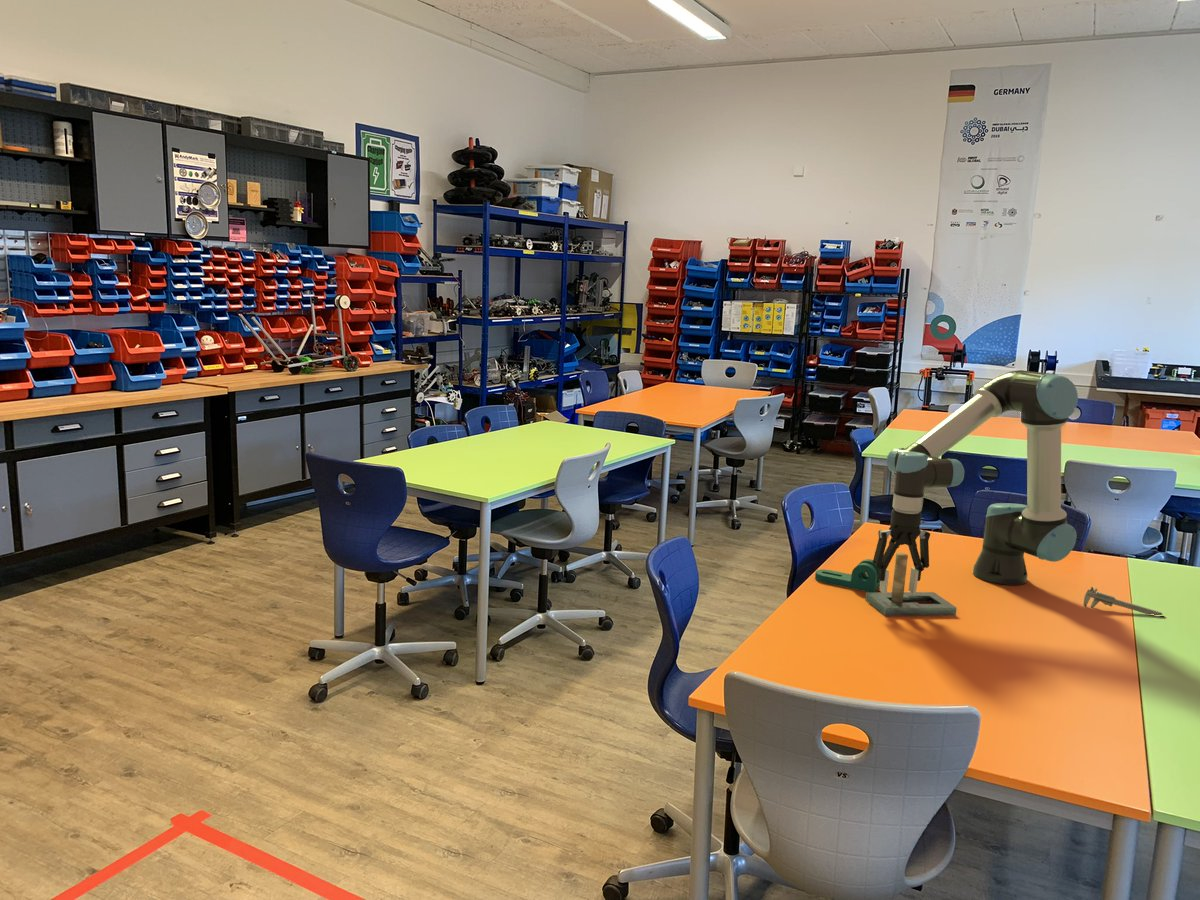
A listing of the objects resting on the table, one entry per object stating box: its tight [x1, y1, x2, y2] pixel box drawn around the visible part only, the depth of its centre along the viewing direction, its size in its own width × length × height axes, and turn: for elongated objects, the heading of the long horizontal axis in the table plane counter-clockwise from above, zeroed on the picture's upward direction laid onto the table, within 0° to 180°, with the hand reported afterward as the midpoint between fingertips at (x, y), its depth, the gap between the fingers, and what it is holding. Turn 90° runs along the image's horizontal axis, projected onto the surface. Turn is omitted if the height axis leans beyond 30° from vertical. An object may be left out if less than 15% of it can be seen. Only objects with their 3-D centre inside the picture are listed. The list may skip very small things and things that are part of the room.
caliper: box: [1083, 586, 1163, 615], centre depth 242 cm, size 20×1×6 cm, turn 73°
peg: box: [891, 552, 909, 603], centre depth 236 cm, size 5×5×15 cm
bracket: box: [814, 558, 880, 592], centre depth 255 cm, size 18×7×8 cm, turn 59°
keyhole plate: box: [865, 591, 957, 617], centre depth 238 cm, size 20×12×2 cm, turn 98°
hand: (897, 591), depth 237 cm, fingers open, 8 cm apart
